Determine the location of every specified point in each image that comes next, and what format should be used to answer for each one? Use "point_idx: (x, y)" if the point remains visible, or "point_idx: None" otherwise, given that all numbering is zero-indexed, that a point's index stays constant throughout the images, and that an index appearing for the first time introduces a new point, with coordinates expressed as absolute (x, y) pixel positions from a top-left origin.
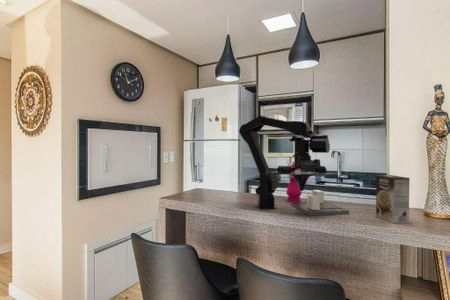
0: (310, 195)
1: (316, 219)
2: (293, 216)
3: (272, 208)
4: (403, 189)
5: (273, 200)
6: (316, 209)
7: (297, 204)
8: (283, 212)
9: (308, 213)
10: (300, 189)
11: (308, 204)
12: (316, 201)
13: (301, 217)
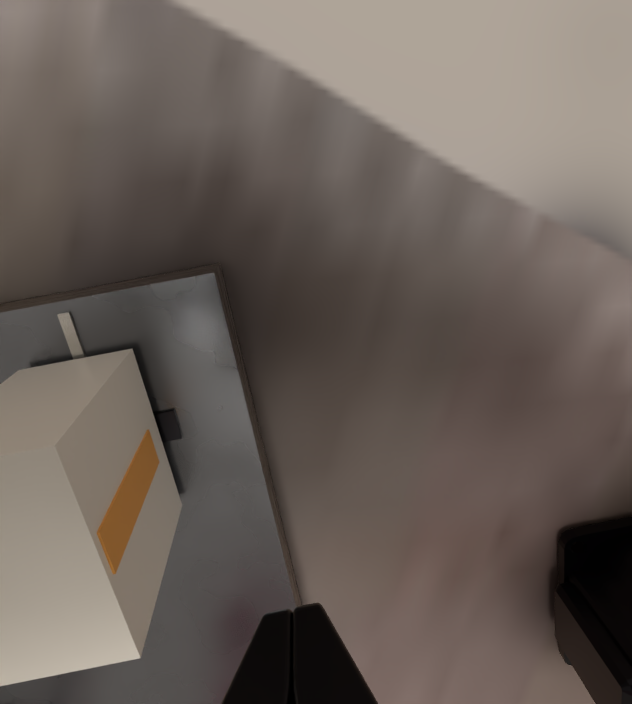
0: (78, 628)
1: (146, 54)
2: (432, 208)
3: (589, 527)
4: None
5: (612, 645)
6: (71, 361)
7: None
8: (500, 397)
9: (216, 267)
10: (337, 640)
11: (162, 499)
12: (12, 418)
13: (338, 160)
